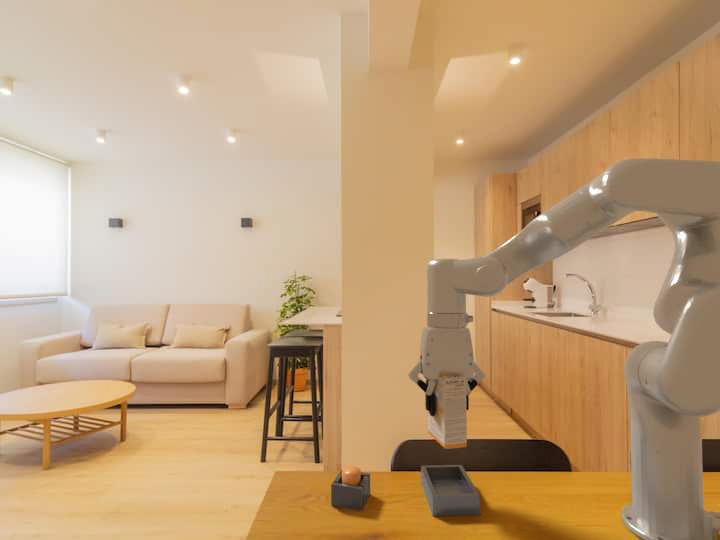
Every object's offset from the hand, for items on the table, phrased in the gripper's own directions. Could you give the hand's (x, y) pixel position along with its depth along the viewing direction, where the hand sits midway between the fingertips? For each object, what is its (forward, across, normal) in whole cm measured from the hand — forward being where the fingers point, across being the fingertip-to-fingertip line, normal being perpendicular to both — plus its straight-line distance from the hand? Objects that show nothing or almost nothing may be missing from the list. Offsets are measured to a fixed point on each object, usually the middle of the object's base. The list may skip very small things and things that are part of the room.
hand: (446, 412), depth 76 cm
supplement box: (+5, 0, 0) cm, 5 cm away
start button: (+15, +19, 0) cm, 24 cm away
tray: (+16, 0, 0) cm, 16 cm away
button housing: (+16, +19, 0) cm, 25 cm away
